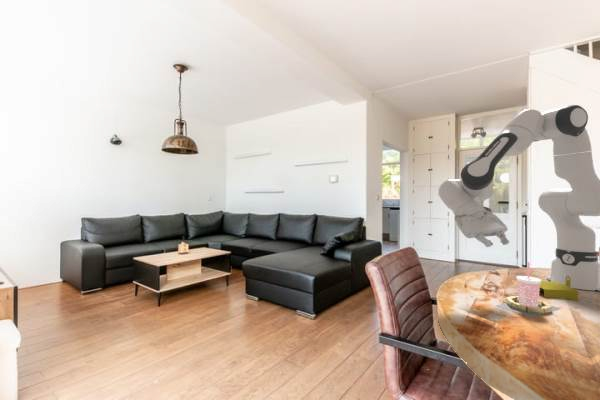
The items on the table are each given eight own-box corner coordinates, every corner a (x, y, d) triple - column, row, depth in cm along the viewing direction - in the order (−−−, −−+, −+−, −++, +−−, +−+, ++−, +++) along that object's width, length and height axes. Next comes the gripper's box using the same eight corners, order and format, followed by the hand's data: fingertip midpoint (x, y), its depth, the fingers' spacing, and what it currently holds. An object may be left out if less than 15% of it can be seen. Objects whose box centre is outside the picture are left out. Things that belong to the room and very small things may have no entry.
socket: (519, 299, 96) (519, 294, 96) (557, 310, 86) (557, 304, 86) (500, 304, 91) (500, 299, 91) (538, 316, 82) (538, 310, 82)
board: (524, 300, 97) (524, 297, 97) (561, 311, 88) (561, 308, 88) (495, 308, 90) (495, 305, 90) (532, 321, 81) (532, 317, 81)
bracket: (509, 268, 112) (552, 270, 109) (509, 288, 112) (552, 290, 109) (535, 280, 96) (586, 282, 94) (535, 303, 96) (586, 305, 94)
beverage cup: (511, 303, 92) (511, 260, 92) (528, 303, 92) (528, 260, 92) (527, 311, 86) (528, 265, 86) (546, 310, 86) (546, 264, 86)
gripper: (457, 209, 99) (486, 241, 90) (493, 208, 108) (523, 237, 99) (446, 221, 103) (472, 252, 94) (482, 219, 112) (509, 247, 103)
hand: (498, 244), depth 97 cm, fingers open, 8 cm apart
